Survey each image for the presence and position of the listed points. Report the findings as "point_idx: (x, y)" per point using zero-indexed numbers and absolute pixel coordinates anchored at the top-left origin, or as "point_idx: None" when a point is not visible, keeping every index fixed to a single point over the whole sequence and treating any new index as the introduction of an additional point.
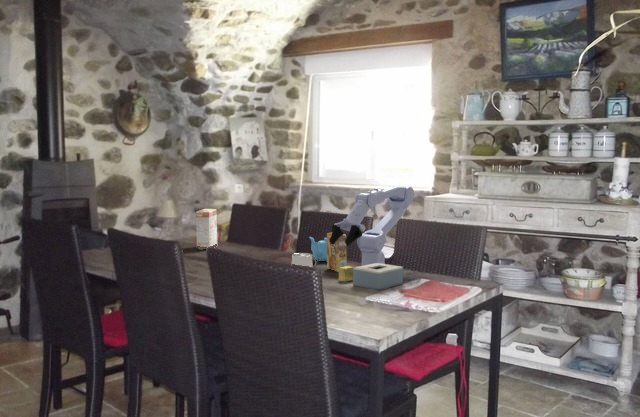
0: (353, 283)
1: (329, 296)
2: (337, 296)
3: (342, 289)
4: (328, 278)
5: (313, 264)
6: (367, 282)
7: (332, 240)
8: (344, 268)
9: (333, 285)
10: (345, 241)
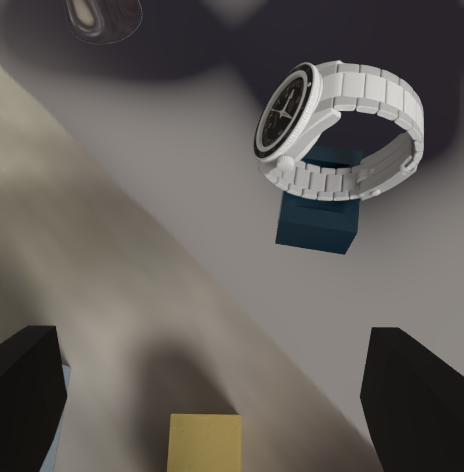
0: (64, 365)
1: (39, 105)
2: (7, 125)
3: (65, 239)
4: (348, 425)
5: (269, 136)
6: None
7: (379, 370)
8: (181, 424)
9: (169, 280)
10: (36, 328)
